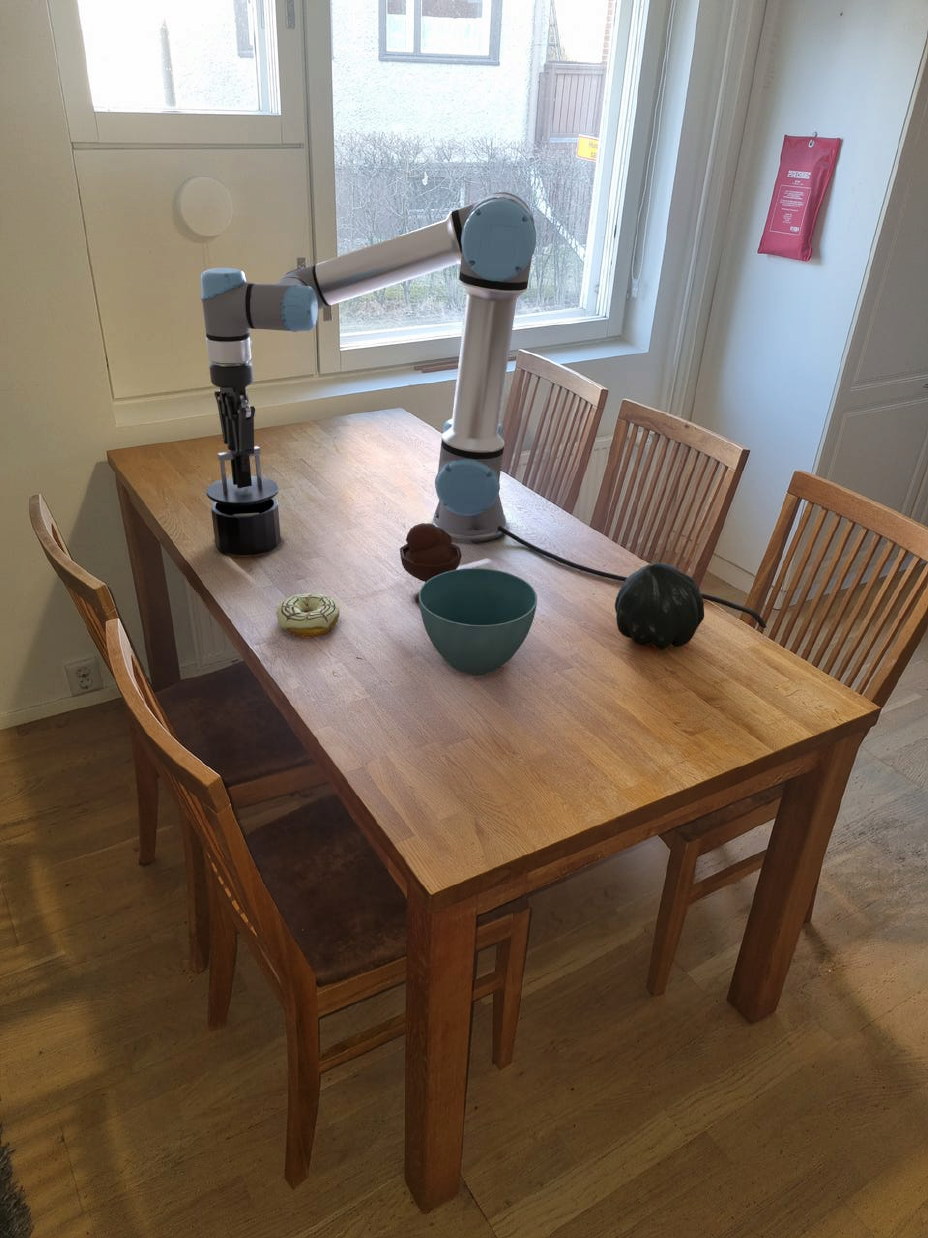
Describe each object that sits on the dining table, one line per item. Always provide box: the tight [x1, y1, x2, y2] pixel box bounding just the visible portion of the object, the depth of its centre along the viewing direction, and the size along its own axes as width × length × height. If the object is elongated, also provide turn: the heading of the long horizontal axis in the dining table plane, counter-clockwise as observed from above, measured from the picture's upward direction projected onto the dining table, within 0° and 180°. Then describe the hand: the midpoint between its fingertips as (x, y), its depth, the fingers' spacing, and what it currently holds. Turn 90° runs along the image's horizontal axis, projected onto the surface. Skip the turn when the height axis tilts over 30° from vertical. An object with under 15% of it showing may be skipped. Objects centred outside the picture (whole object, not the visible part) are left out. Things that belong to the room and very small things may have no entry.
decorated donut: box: [275, 592, 340, 639], centre depth 153 cm, size 10×11×4 cm
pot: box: [210, 497, 282, 557], centre depth 177 cm, size 13×13×8 cm
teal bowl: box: [418, 567, 538, 676], centre depth 142 cm, size 18×18×12 cm
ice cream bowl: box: [399, 522, 463, 605], centre depth 159 cm, size 11×11×15 cm
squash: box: [614, 562, 705, 651], centre depth 150 cm, size 14×15×15 cm
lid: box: [205, 445, 280, 505], centre depth 172 cm, size 14×14×9 cm
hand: (242, 484), depth 173 cm, fingers closed on lid
